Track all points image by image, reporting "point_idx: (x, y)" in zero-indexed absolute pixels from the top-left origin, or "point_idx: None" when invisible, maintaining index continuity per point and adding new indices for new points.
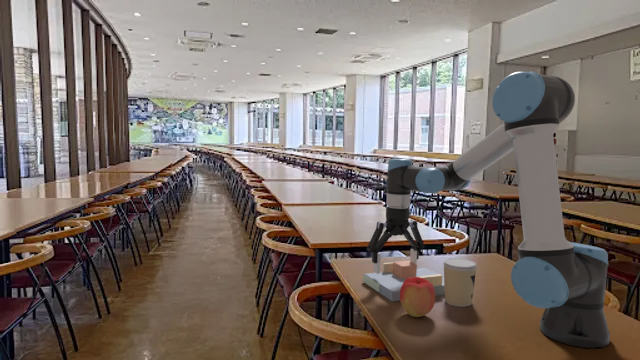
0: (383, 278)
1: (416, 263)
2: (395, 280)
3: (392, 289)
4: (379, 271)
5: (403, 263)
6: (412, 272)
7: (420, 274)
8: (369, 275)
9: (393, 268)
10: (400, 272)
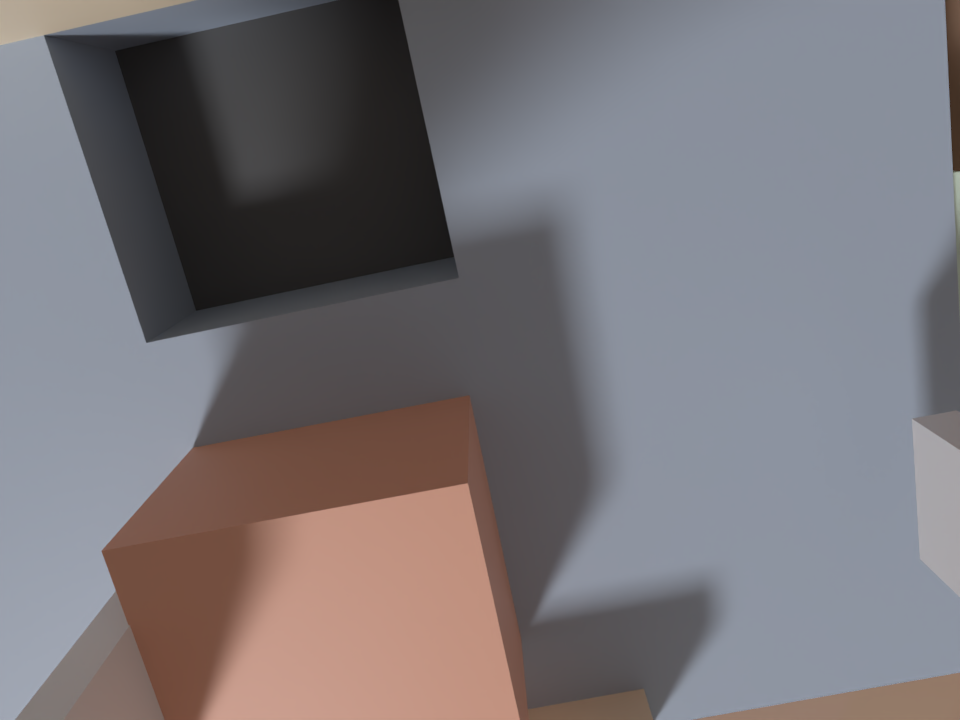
0: (773, 428)
1: (79, 639)
2: (612, 312)
3: None
4: (947, 431)
5: (361, 679)
6: (245, 467)
7: (79, 565)
8: (931, 587)
9: (524, 689)
10: (479, 474)
